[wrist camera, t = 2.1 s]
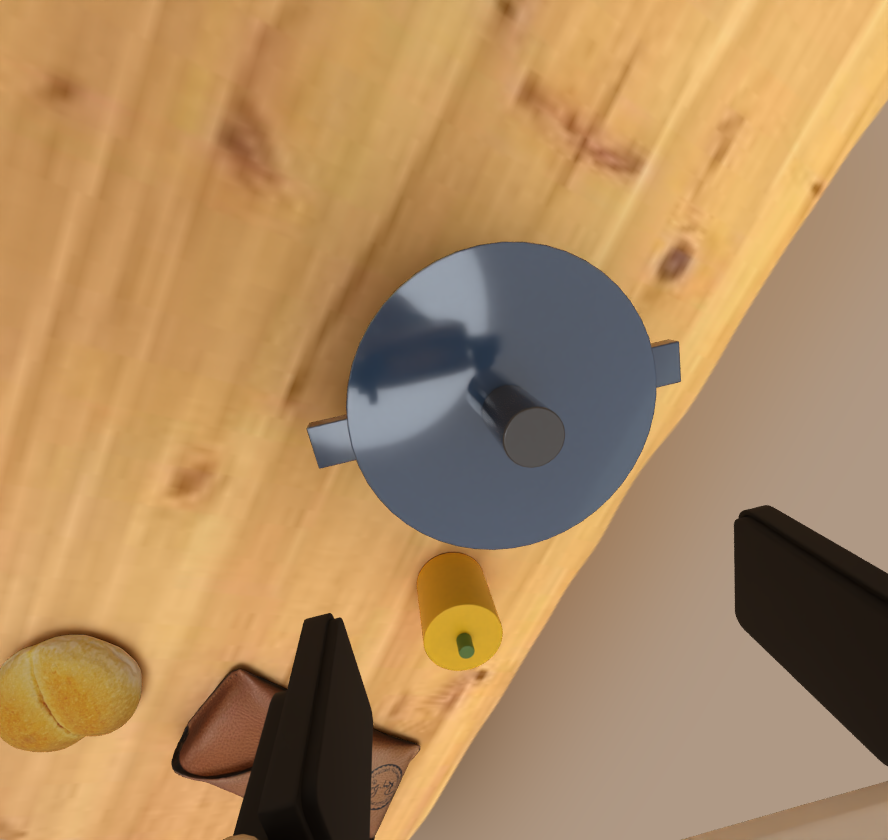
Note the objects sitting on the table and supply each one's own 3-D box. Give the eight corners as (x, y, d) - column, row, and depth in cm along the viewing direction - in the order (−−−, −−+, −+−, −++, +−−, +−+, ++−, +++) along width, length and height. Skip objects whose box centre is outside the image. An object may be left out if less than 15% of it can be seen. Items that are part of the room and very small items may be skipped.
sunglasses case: (428, 745, 40) (409, 849, 35) (388, 753, 44) (366, 846, 39) (232, 662, 35) (177, 770, 30) (208, 680, 39) (158, 777, 34)
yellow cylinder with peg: (409, 561, 35) (417, 630, 28) (477, 544, 35) (500, 608, 28) (424, 617, 37) (435, 695, 30) (488, 600, 37) (513, 673, 30)
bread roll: (166, 697, 36) (140, 748, 32) (48, 734, 35) (8, 789, 31) (115, 612, 33) (81, 655, 29) (-13, 650, 33) (-65, 699, 29)
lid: (308, 282, 23) (285, 282, 17) (633, 212, 24) (709, 192, 18) (389, 568, 28) (391, 639, 22) (654, 501, 29) (718, 552, 23)
